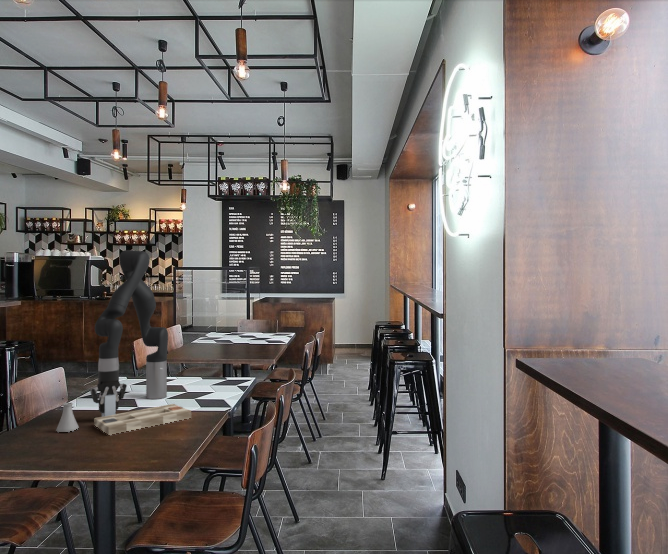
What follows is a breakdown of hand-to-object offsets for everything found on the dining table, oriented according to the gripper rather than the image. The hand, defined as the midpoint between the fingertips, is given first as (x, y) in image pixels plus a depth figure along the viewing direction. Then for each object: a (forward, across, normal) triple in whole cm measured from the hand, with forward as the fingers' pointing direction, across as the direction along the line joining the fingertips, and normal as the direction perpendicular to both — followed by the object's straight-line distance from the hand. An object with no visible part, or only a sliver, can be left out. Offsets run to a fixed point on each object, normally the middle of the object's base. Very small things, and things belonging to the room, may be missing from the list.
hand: (108, 411), depth 198 cm
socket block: (+3, -9, +13) cm, 16 cm away
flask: (+4, +16, +4) cm, 17 cm away
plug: (+3, 0, 0) cm, 3 cm away
